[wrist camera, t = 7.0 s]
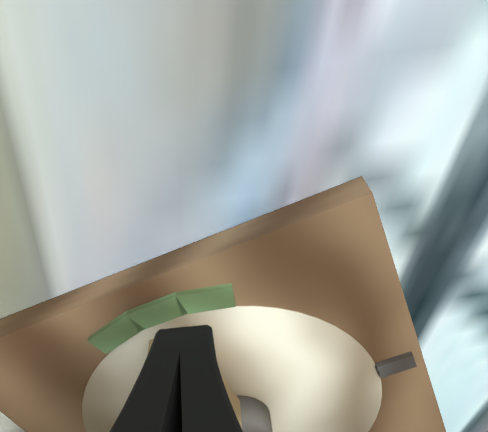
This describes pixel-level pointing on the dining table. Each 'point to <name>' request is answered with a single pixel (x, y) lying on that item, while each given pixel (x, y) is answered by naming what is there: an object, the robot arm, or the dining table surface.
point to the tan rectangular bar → (247, 410)
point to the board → (239, 327)
